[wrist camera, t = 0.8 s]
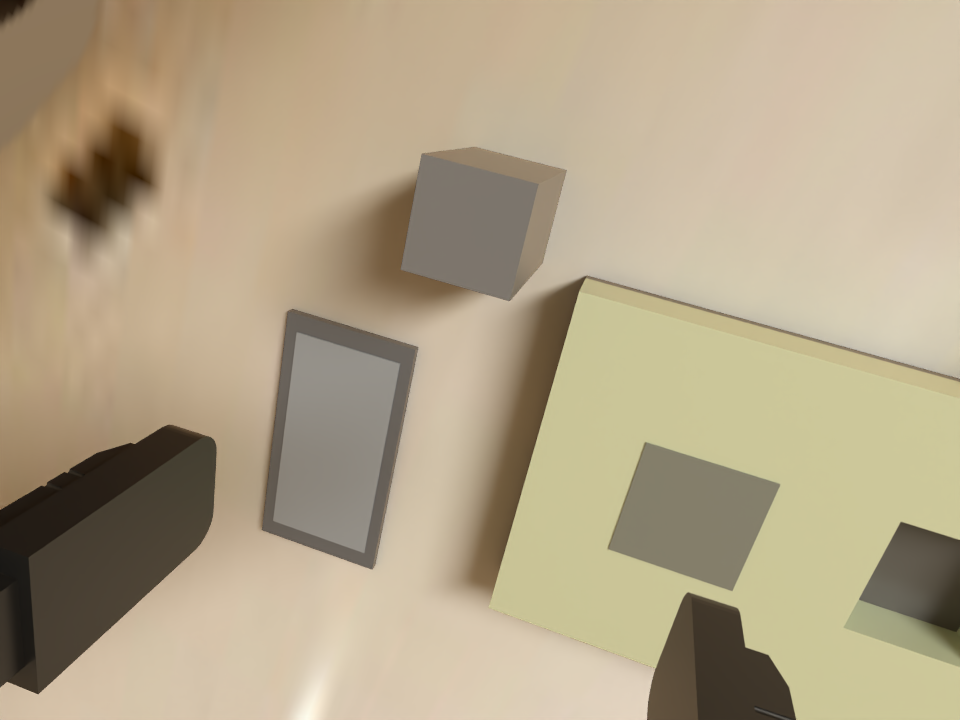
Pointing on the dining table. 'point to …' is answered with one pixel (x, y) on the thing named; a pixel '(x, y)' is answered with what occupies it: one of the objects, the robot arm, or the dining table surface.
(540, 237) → the block
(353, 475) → the phone
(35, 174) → the dining table surface
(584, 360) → the outlet plate
